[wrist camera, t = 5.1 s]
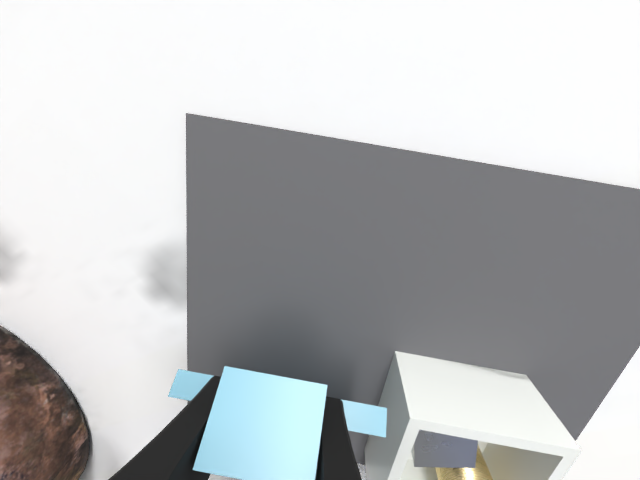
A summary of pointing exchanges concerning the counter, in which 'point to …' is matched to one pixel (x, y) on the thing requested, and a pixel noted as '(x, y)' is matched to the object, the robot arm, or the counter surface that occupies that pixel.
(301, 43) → the counter surface
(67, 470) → the cooking pot
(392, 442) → the tub
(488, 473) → the gold rounded piece
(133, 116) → the counter surface
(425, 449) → the steel block
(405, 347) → the mat
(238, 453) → the lid
